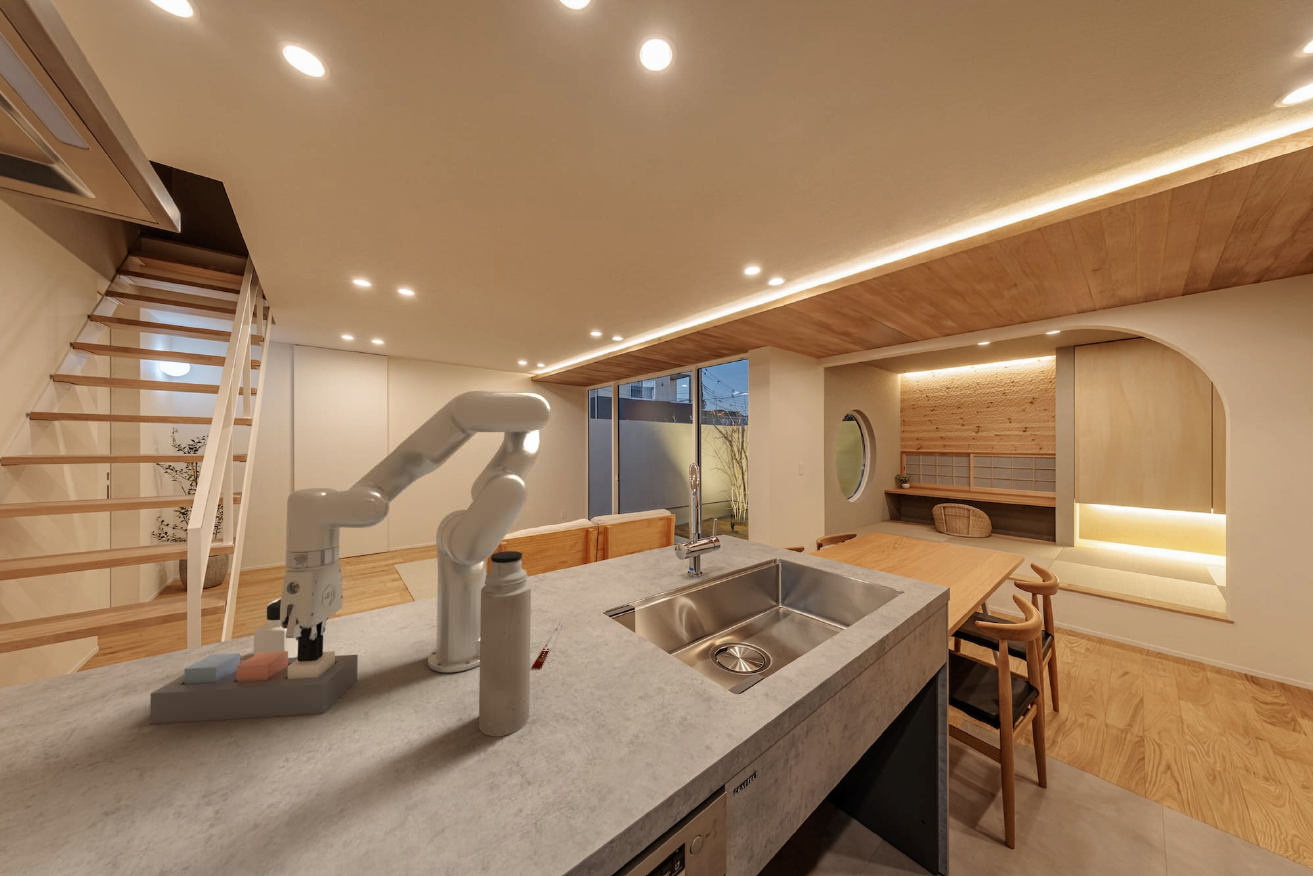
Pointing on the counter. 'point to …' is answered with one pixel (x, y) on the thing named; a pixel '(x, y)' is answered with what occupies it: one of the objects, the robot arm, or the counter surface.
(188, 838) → the counter surface
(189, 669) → the slate-blue key
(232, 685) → the key panel
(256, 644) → the medicine bottle
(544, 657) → the red handled knife
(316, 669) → the off-white key
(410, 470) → the robot arm
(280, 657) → the terracotta key
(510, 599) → the thermos bottle
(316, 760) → the counter surface
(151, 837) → the counter surface
